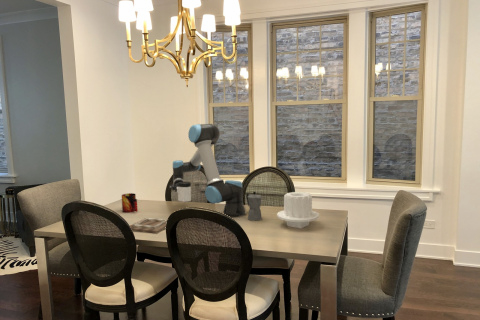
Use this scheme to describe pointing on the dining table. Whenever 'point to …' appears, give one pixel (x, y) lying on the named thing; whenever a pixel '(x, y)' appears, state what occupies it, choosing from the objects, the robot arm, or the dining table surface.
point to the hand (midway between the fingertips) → (180, 190)
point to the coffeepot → (254, 206)
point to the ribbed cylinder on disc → (297, 210)
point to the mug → (129, 203)
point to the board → (149, 225)
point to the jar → (184, 191)
